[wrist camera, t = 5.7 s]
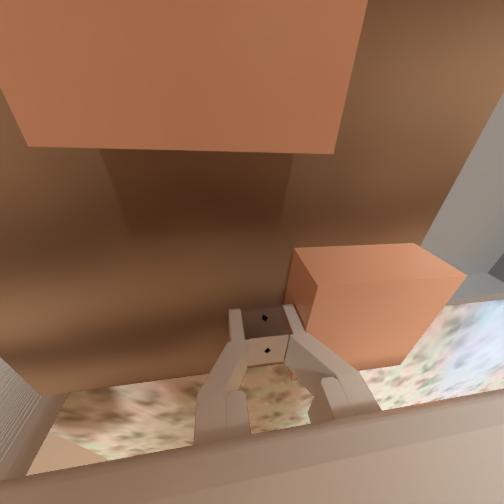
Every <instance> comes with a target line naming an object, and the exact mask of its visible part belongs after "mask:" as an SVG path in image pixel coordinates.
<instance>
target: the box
mask: <svg viewBox="0 0 504 504" xmlns="http://www.w3.org/2000/svg"><path fill="white" fill-rule="evenodd" d="M420 247H421V248H423V249H425V250H426V251H428V252H430V253H431V254H433V255H435V256H436V257H438V258H440V259H441V260H443V261H444V262H446V263H448V264H449V265H451V266H453V267H454V268H456V269H458V270H459V271H461V272H462V273H464V274H466V275H467V277H466V279H465V280H464V281H463V282H462V284H461V285H460V286H459V288H458V289H457V290H456V292H455V293H454V294H453V296H452V297H451V298H450V300H449V301H448V302H447V304H446V305H455V304H464V303H474V302H483V301H493V300H502V299H504V92H503V94H502V96H501V98H500V100H499V102H498V103H497V105H496V107H495V109H494V111H493V113H492V114H491V116H490V118H489V120H488V122H487V124H486V125H485V127H484V129H483V131H482V133H481V135H480V137H479V138H478V140H477V142H476V144H475V146H474V148H473V149H472V151H471V153H470V155H469V157H468V159H467V160H466V162H465V164H464V166H463V168H462V170H461V171H460V173H459V175H458V177H457V179H456V181H455V183H454V184H453V186H452V188H451V190H450V192H449V194H448V195H447V197H446V199H445V201H444V203H443V205H442V206H441V208H440V210H439V212H438V214H437V216H436V218H435V219H434V221H433V223H432V225H431V227H430V229H429V230H428V232H427V234H426V236H425V238H424V240H423V241H422V243H421V245H420Z"/></svg>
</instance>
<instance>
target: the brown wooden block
mask: <svg viewBox="0 0 504 504" xmlns="http://www.w3.org/2000/svg"><path fill="white" fill-rule="evenodd" d="M503 92H504V0H368V2H367V7H366V11H365V16H364V20H363V25H362V29H361V34H360V38H359V42H358V47H357V51H356V56H355V60H354V65H353V69H352V74H351V78H350V82H349V87H348V91H347V96H346V100H345V105H344V109H343V113H342V118H341V122H340V127H339V131H338V136H337V140H336V145H335V149H334V153H333V154H308V153H268V152H228V151H188V150H148V149H108V148H68V147H28V145H27V143H26V141H25V138H24V136H23V134H22V132H21V130H20V128H19V126H18V124H17V122H16V120H15V117H14V115H13V113H12V111H11V109H10V107H9V105H8V103H7V101H6V99H5V96H4V94H3V92H2V90H1V88H0V357H1V358H2V359H3V360H4V361H5V362H6V363H7V364H8V365H9V366H10V367H11V368H12V369H13V370H14V371H15V372H16V373H17V374H18V375H20V376H21V377H22V378H23V379H24V380H25V381H26V382H27V383H28V384H29V385H30V386H31V387H32V388H33V389H34V390H35V391H36V392H37V393H38V394H39V395H40V396H46V395H54V394H61V393H68V392H76V391H83V390H90V389H98V388H105V387H112V386H120V385H127V384H134V383H142V382H149V381H156V380H164V379H171V378H178V377H186V376H193V375H200V374H207V373H210V372H211V370H212V368H213V366H214V365H215V363H216V361H217V360H218V358H219V356H220V354H221V353H222V351H223V349H224V348H225V346H226V344H227V342H229V309H238V308H252V307H263V306H273V305H284V300H285V295H286V289H287V283H288V278H289V272H290V267H291V261H292V256H293V250H294V248H302V247H327V246H352V245H376V244H401V243H415V244H417V245H418V246H420V245H421V243H422V241H423V240H424V238H425V236H426V234H427V232H428V230H429V229H430V227H431V225H432V223H433V221H434V219H435V218H436V216H437V214H438V212H439V210H440V208H441V206H442V205H443V203H444V201H445V199H446V197H447V195H448V194H449V192H450V190H451V188H452V186H453V184H454V183H455V181H456V179H457V177H458V175H459V173H460V171H461V170H462V168H463V166H464V164H465V162H466V160H467V159H468V157H469V155H470V153H471V151H472V149H473V148H474V146H475V144H476V142H477V140H478V138H479V137H480V135H481V133H482V131H483V129H484V127H485V125H486V124H487V122H488V120H489V118H490V116H491V114H492V113H493V111H494V109H495V107H496V105H497V103H498V102H499V100H500V98H501V96H502V94H503ZM281 363H284V361H283V362H273V363H264V364H258V365H251V366H247V368H251V367H259V366H266V365H273V364H281Z"/></svg>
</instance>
